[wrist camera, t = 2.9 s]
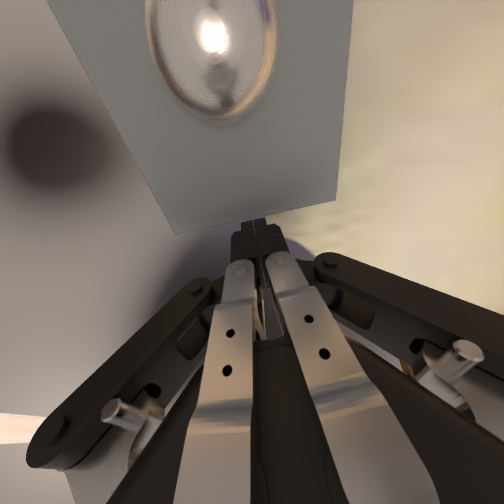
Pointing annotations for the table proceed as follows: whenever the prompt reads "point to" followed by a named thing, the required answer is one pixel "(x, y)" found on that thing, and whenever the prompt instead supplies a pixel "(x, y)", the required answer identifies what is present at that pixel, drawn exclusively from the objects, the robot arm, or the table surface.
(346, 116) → the table surface
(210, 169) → the pocket slab
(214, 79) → the steel ball
